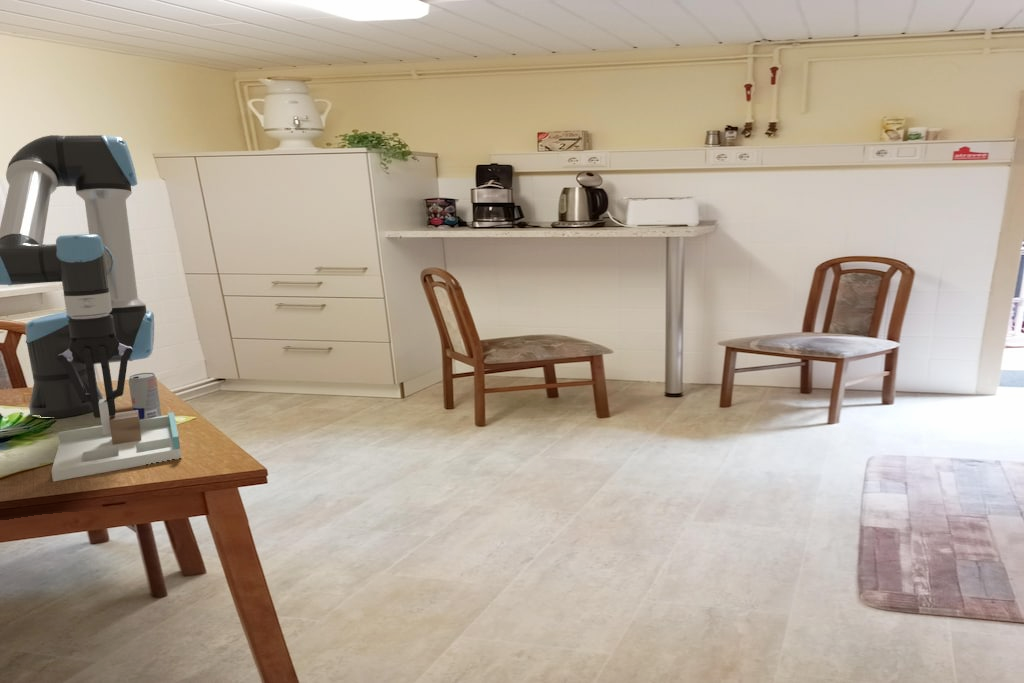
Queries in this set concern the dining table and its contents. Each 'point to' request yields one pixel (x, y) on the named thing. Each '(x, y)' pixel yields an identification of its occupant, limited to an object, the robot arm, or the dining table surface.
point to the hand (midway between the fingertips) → (107, 431)
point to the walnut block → (125, 427)
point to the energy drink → (145, 395)
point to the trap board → (115, 449)
